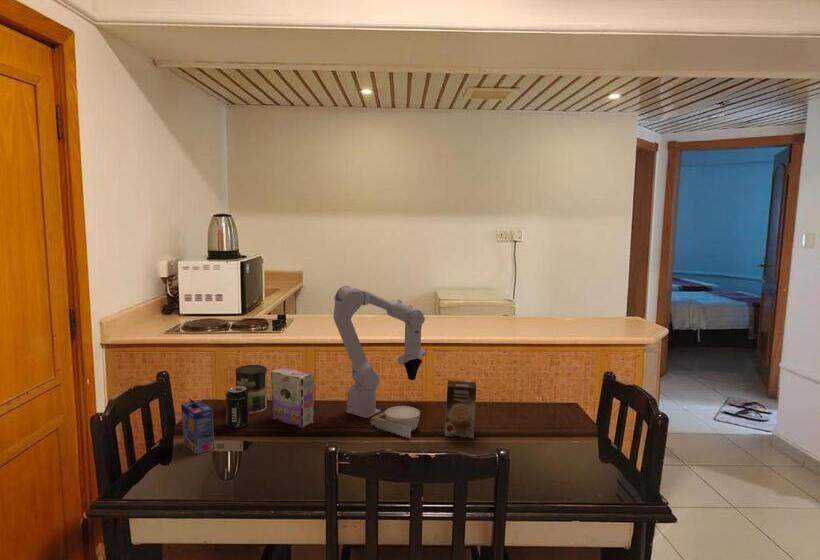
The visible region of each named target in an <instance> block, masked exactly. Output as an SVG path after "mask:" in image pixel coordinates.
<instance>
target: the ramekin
mask: <svg viewBox="0 0 820 560" xmlns="http://www.w3.org/2000/svg"><path fill="white" fill-rule="evenodd" d="M385 416H386V420H388V421H391V422H395V423H398V424H401V425H405V426H408V427H411V431H412V432H413V430H414V431H415V430H416V429H417V428H418V426H419V425H418V424H419V420H420V417H421V411H420V410H419V409H417V408H415V407H413V406H408V405H397V406H396V405H395V406H392V407H388V408H387V409H386V410H385Z"/></svg>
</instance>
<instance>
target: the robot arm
mask: <svg viewBox="0 0 820 560" xmlns="http://www.w3.org/2000/svg"><path fill="white" fill-rule="evenodd" d="M333 299H334V308H333V317H332V318H333V321H334V323H335V326H336V328H337V330H338V333H339V335H340V338H341V340H342V343H343V345H344V348H345V350H346V353H347V354H348V357H349V360H350V362H351V366H350V367H351V371H352V372H351V375H352V376H351V377H352V379H353V381H354V382H355V383H354V384H352V385H351V386H349V388H348V391H347V396H346V397H347V399H346V402H347V404H346V405H347V406H346V407H347V409H346V410H345V412H346V413H348V414H352V415H353V416H354V415H355V416H358V417H360V418H365V419H368V418H370V417H371V418H372V416H373V417H374V416H376V415H378V414H380V412H381V413H382V410H381V409H378V408H376V405H377V404H376V401H377V399H376V398H377V387H378V386H379V384H380V376H379V374H378V373H377V372H375V370H374V369H373V366H372V365H371V363H370V362H369V361H368V359H367V357H366V354H365V352H364V349H363V346H362V344H361V341H360V339H359V337H358V334H357V332H356V329H355V327H354V324H353V322H352V317H353V316H354V314H355V313H357V311H358V310H359V309H360V308H361V307H362V306H367V305H368V304H370V305H372V306H375V307H378V308H380V309H383V310H385V312H386V313H387V315H388V316H389V317H391V318H394V319H397V320H399V321H402V322H404V323H405V324H404V351H403V352H404V353H403V354H402V355H401V356H400V357H398V358H397V364H398V365H401V366H402V365H403V366H404V368H405V371H406V374H407V380H410V381H415V380H416V378H417V375H418V370H419V368H420V366H421V364H422V362H423V360H422V359H423V357H426V355H427V354H426V353H427V352H426V351H427V350H425V349H421V348H422V347H421V346H422V345H421V344H422V327H423V324H424V323H425V320H426V317H425V316H424V313H423V312H422V310H419V309H418V308H415V307H413V305H410V304H409V305H407V304H405V303H403V301H402V300H401V299H393V300H391V301H389V300H387V299H384V298H383V297H380V296H379V295H376V294H374V293H371V292H369V291H367V290H363V289H359V288H356V287H351V286H349V285H343V286H341V287H339V288H338V290H337V291H336V293H335V295H334V297H333Z"/></svg>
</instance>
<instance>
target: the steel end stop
mask: <svg viewBox="0 0 820 560" xmlns="http://www.w3.org/2000/svg"><path fill="white" fill-rule="evenodd" d="M375 427H377V428H380V429H383V430H386V431H389V432H391V433H395V434H397V435H400V436H399V437H401V436H402V437H401V438H404V437H406V438H405V439H407V438H410V439H411V437H412V432H411V427H408V426H405V425H401V424H398V423H395V422H391V421H388V420H385V419H382V418H378V417H377V418H376V424H375ZM391 433H390V434H391ZM397 435H396V436H397Z"/></svg>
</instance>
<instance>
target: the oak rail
mask: <svg viewBox="0 0 820 560" xmlns="http://www.w3.org/2000/svg"><path fill="white" fill-rule="evenodd" d="M385 411H386V410H385ZM385 411H381V413H380V412H379V413H377V414H375V415H373V417H372V416H371V418H370V426H371V425H375V424H376V418H377V417H378V418H382V419H385V420H386V416H385Z"/></svg>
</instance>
